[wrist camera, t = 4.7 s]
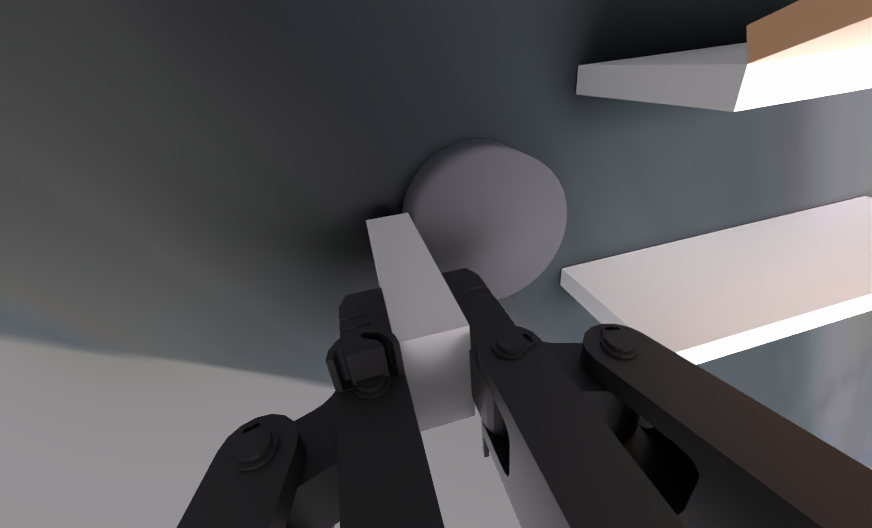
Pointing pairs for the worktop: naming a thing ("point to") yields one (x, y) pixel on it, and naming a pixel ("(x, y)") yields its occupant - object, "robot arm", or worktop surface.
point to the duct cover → (810, 29)
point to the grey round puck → (488, 213)
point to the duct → (743, 245)
